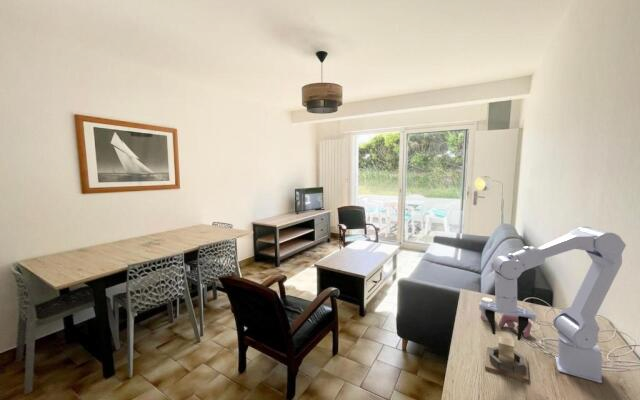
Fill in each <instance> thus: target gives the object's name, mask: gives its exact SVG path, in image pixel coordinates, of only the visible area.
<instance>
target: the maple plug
mask: <svg viewBox="0 0 640 400" xmlns="http://www.w3.org/2000/svg"><path fill="white" fill-rule="evenodd" d="M498 347H499V360H500V361H503V362H506V363H510V364H514V351H515V340H514V339H512V338H508V337H504V336H500V335H499V336H498Z"/></svg>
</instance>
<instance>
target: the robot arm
mask: <svg viewBox="0 0 640 400" xmlns="http://www.w3.org/2000/svg"><path fill="white" fill-rule="evenodd" d="M626 246H627V245H626V243H625V241H624V240H623V239H622V238H621V236H620V235H619V234H616V233H614V232H609V231H605V230H600V229H595V228H592V227H590V226H581V227H578V228H575V229H571V230H570V231H569V232H568V233H567V234H564V235H563V236H561V237H558V238H557V239H554V240H552V241H549V242H547V243H545V244H544V245H541V246H539V247H535V246H528V245H526V246H523V247H522V249H520V250H517V251H515V252H512V253H511V252H509V253H507V255H498V256H496V257H495V258H494V259H493V260H492V263H491V268H492V269H493V271H494V290H495V291H494V293H495V294H494V295H495V296H494V297H495V298H494V299H495V301H494V302H493V303H484V302H482V301H479V305H478V307H479V308H478V309H479V311H481V310H485V315H486V317H487V319H488V321H487V322H488V324H489V326H490V328H491V332H492V334H493V335H496V332H497V331H496V329H497V328H496V313H497V314H502V315H503V314H505V315H512V316H517V317H518V323H517V326H518V330H517V337H516V338H517V341H521V338H522V335H523V334H524V329H525V328H526V327H527V325H528V323H529V320H530V321H532V322H536V319H537V316H536V311H532V310H528V309H524V308H520V307H518V278H520V276H521V275H522V273H523V272H525V271H527V270H530V269H532V268H535V267H538V266H540V265H543V264H545V261H546V259H547V258H549V257H553V256H557V255H560V254H564V253H566V252H569V251H573V250H581V251H585V252H586V253H587V254H588V255H587V256H589V258H590V259H591V261H592V262H591V264H590V266H589V268H588V270H587V272H586V275H585V276H584V279H583V281H582V283H581V285H580V286H579V289H578V291H577V293H576V295H575V297H574V299H573V300H572V303H571V306H568V307H567V306H566V307H563V308H562V309H561V311H560V312H559V313H558V314H557V315H555V316H554V317H553V320H552V324H553V326H554V328H555V329H556V330H557V335H558V341H557V343H558V344H557V345H558V346H557V348H558V349H557V352H558V353H557V354H558V355H557V356H558V357H556V356H554V359H555V363H556V367H557V370H558V372H560V373H564V374H568V375H570V376H574V377H578V378H581V379H584V380H585V379H586V380H588V381H589V380H590V381H593V382H596V383H599V384H602V383H603V380H602V374H603V373H602V371H603V370H602V368H603V359H602V350H601V348H600V346H598V343H599V342H598V341H599V336H598V335H599V332H600V330H601V329H600V326H599V324H598V322H597V320H596V316H597V314H598V312H599V310H600V308H601V306H602V304H603V302H604V300H605V298H606V297H607V294H608V292H609V290H610V288H611V286H612V285H613V282H614V280H615V278H616V277H617V275H618V273H619V271H620V268H621V267H622V263H623V252H624V250H625V249H626Z"/></svg>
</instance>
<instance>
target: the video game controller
mask: <svg viewBox="0 0 640 400" xmlns="http://www.w3.org/2000/svg"><path fill="white" fill-rule="evenodd" d="M528 321H529V320H528ZM515 323H516V324H518V317H517V316H512V315H505V314H502V315H501V318H500V319H499V322H498V327H499V329H503V327H504V326H505V325H507V327H508V328H510V329H514V328H515V327H516V329H517V331H518V325H517V326H516V325H515ZM531 329H532V322H531V320H530V321H529V323H528V325H527V327H526V328H525V329H524V331H523V336H524V338H528V337H529V336H530V333H531Z"/></svg>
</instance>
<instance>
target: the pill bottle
mask: <svg viewBox="0 0 640 400" xmlns="http://www.w3.org/2000/svg"><path fill="white" fill-rule="evenodd" d="M481 302H484V303H494V300H493V298H490V297H486V296H484V297H482V298H481ZM480 317H481V319H482V320H483V321H486V322H489V321H488V319H487V317H486V315H485V310H480Z"/></svg>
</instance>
